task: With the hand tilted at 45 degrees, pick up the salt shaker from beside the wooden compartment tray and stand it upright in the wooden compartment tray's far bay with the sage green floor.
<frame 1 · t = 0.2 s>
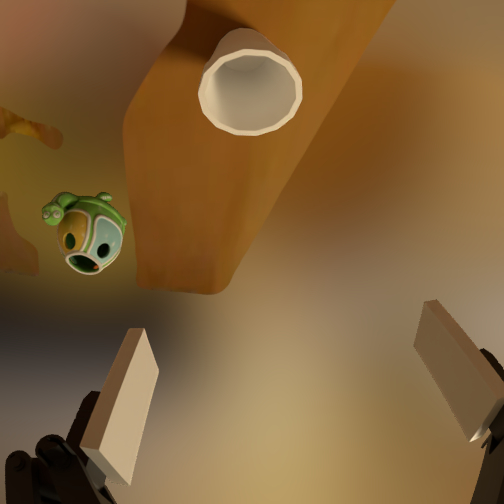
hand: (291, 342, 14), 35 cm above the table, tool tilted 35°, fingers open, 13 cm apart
foam cup: (243, 49, 33), on the table
turtle holder: (91, 206, 54), on the table
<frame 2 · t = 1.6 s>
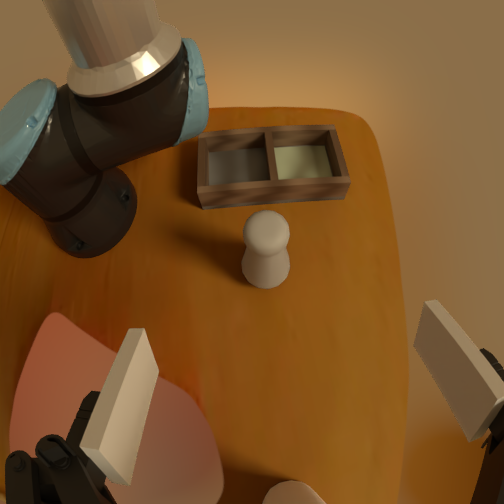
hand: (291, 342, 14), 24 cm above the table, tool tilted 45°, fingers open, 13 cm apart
foam cup: (289, 500, 30), on the table
wooden compartment tray: (270, 172, 46), on the table
salt shaker: (265, 271, 40), on the table
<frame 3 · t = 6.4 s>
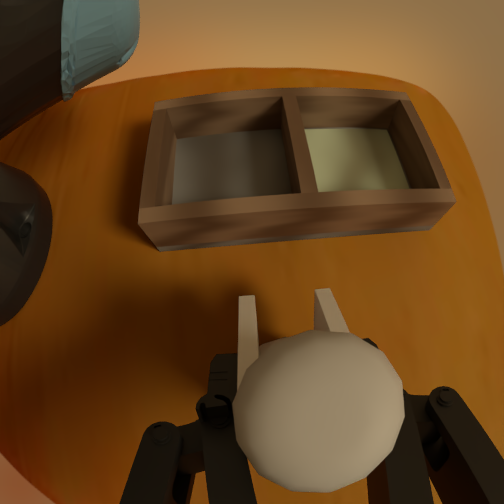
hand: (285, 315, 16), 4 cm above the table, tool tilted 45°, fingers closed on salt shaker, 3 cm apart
wooden compartment tray: (294, 176, 23), on the table
salt shaker: (286, 386, 18), on the table, touching gripper
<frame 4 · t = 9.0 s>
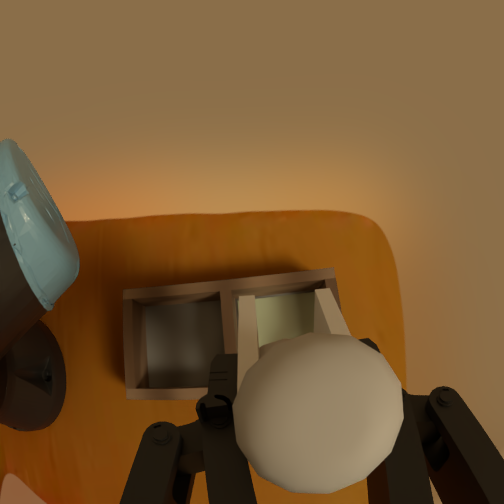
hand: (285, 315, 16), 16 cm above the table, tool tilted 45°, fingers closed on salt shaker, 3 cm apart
wooden compartment tray: (234, 341, 31), on the table
salt shaker: (286, 387, 18), point 12 cm above the table, touching gripper
when the fingers open (6 cm above the table, at t = 12.0 s): salt shaker drops 1 cm, resting on wooden compartment tray.
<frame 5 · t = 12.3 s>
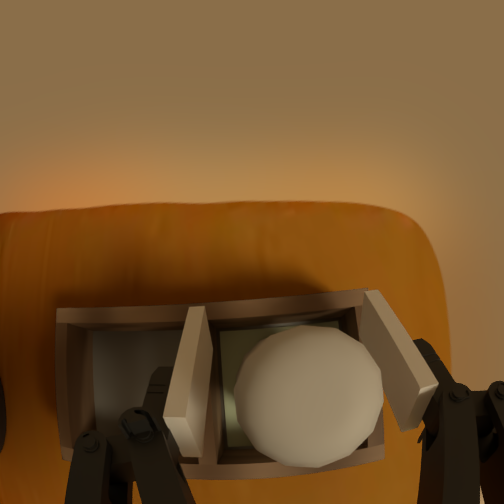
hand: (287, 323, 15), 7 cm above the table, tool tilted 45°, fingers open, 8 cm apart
wooden compartment tray: (214, 389, 20), on the table
salt shaker: (284, 380, 19), point 1 cm above the table, touching wooden compartment tray
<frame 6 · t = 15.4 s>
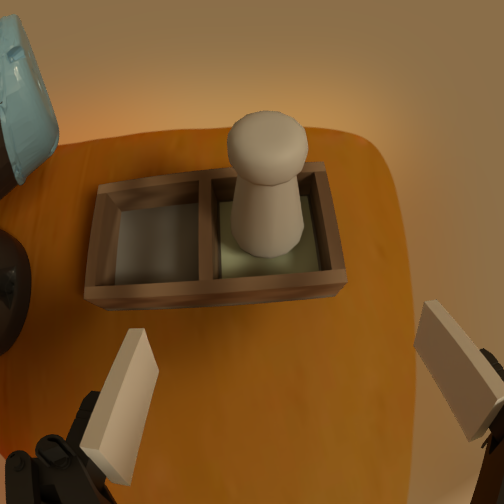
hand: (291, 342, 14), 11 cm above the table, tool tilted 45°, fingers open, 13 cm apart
wooden compartment tray: (213, 247, 28), on the table
salt shaker: (267, 236, 27), point 1 cm above the table, touching wooden compartment tray
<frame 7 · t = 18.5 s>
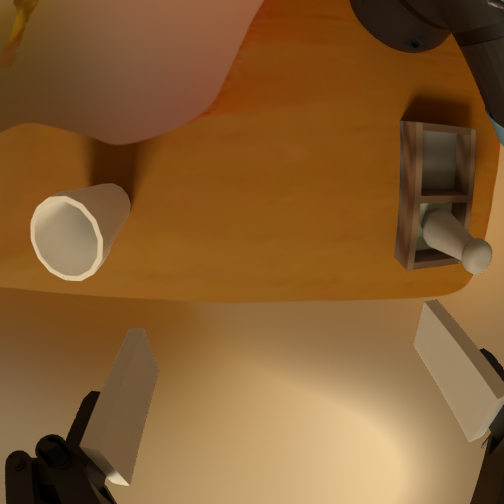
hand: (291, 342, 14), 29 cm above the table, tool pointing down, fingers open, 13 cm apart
foam cup: (110, 205, 40), on the table
wooden compartment tray: (429, 191, 40), on the table
salt shaker: (431, 223, 41), point 1 cm above the table, touching wooden compartment tray
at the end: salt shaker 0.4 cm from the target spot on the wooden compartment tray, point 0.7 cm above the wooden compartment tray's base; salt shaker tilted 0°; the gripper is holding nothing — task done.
